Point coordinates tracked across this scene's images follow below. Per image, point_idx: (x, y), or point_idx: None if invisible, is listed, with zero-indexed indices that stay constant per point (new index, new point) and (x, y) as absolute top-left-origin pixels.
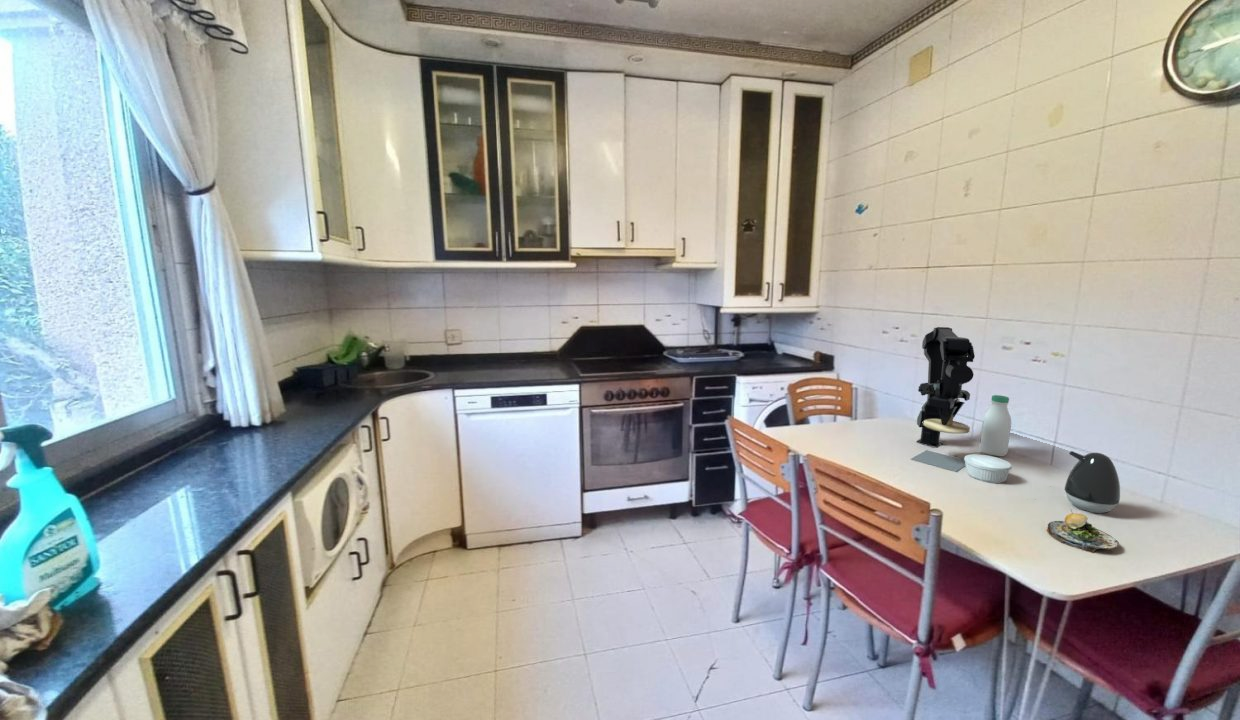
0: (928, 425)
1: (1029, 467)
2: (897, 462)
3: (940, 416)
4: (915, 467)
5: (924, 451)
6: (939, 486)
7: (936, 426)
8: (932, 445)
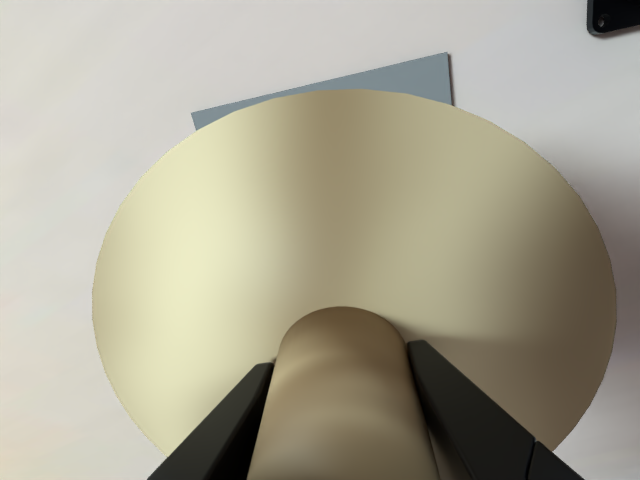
0: (98, 277)
1: (623, 423)
2: (75, 107)
3: (169, 458)
4: (118, 201)
5: (402, 64)
6: (51, 362)
7: (148, 350)
8: (590, 7)
